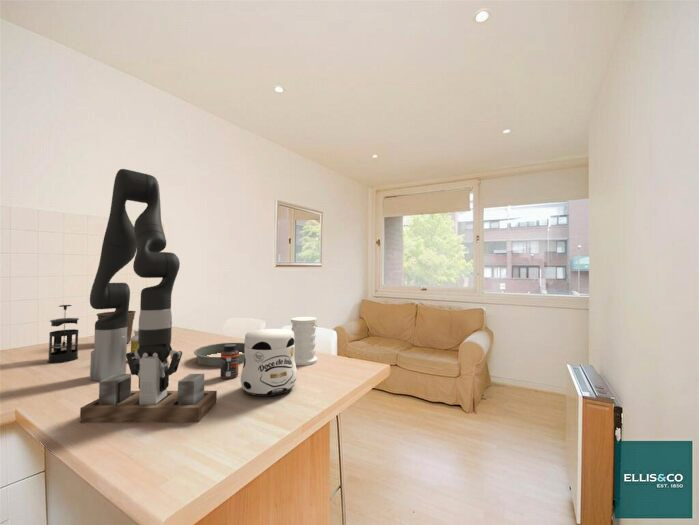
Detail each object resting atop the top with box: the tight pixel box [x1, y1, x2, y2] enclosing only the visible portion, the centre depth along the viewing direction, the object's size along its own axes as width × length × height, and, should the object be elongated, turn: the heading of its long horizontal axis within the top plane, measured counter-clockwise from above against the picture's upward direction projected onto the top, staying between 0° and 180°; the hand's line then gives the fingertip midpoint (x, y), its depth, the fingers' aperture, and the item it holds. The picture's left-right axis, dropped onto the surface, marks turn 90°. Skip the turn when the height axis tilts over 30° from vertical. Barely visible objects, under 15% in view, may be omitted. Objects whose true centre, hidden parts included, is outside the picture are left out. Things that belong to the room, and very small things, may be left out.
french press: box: [47, 304, 80, 364], centre depth 130 cm, size 12×9×23 cm
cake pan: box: [193, 342, 245, 367], centre depth 133 cm, size 25×25×4 cm
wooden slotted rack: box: [79, 373, 218, 424], centre depth 82 cm, size 29×11×9 cm, turn 91°
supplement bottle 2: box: [220, 344, 239, 380], centre depth 110 cm, size 6×6×11 cm
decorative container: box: [290, 316, 318, 366], centre depth 130 cm, size 12×12×18 cm
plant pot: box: [96, 310, 137, 344], centre depth 159 cm, size 16×16×16 cm
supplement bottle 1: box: [130, 328, 141, 361], centre depth 130 cm, size 7×7×13 cm
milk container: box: [240, 328, 298, 397], centre depth 99 cm, size 17×17×18 cm
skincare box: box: [139, 356, 168, 405], centre depth 82 cm, size 6×4×12 cm
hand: (153, 390), depth 82 cm, fingers closed on skincare box, 4 cm apart
